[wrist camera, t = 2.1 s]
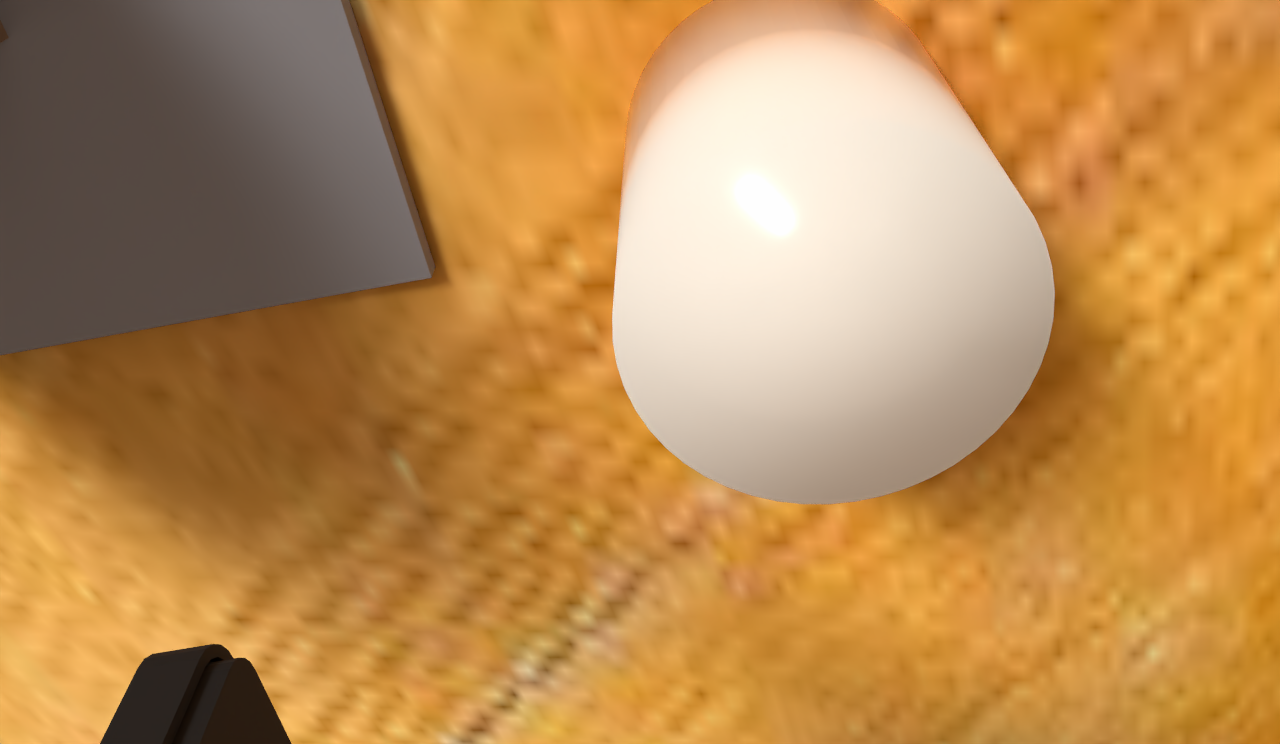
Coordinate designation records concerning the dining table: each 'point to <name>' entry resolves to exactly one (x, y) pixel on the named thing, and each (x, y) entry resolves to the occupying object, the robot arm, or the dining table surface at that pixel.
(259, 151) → the mat
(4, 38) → the block
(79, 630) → the dining table surface
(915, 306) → the ceramic cylinder
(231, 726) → the robot arm
